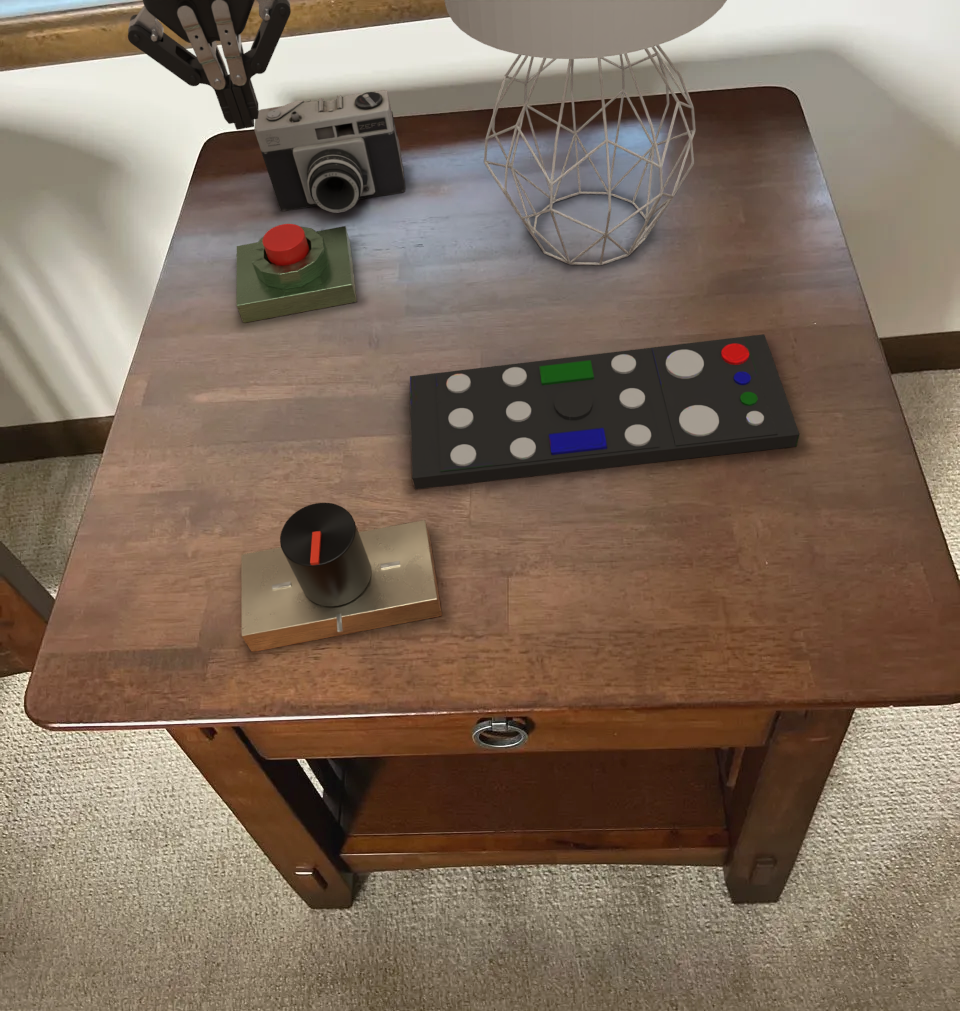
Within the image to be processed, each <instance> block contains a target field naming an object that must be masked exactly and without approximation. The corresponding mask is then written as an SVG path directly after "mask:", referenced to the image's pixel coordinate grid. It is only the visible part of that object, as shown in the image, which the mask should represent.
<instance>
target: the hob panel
mask: <svg viewBox="0 0 960 1011" xmlns="http://www.w3.org/2000/svg"><path fill="white" fill-rule="evenodd" d="M358 532H359V535H360V538H361V540H362V543H363V546H364V548H365V551H366V554H367V556H368V559H369V562H370V565H371V577H370V580H369V583H368V585H367V587H366V588H365V590H364V591H363V592H362V593H361V594H360V595H359V596H358V597H357V598H355V599H354V600H352V601H350V602H348V603H346V604H343V605H339V606H322V605H319V604H316V603H314V602H312V601H311V600H310V599H308V598H307V597H306V595H305V594H304V592H303V590H302V588H301V586H300V584H299V582H298V580H297V578H296V577H295V575H294V573H293V571H292V569H291V567H290V565H289V563H288V561H287V559H286V557H285V555H284V553H283V551H282V548H281V546H279V547H274V548H269V549H263V550H257V551H252V552H246V553H242V554H241V555H240V562H241V563H240V572H241V573H240V574H241V575H240V582H241V584H240V586H241V587H240V593H241V594H240V595H241V596H240V598H241V600H240V604H241V606H240V607H241V608H240V609H241V610H240V611H241V612H240V613H241V615H240V616H241V618H240V623H241V624H240V626H241V627H240V628H241V630H240V631H241V632H240V634H241V636H240V637H242V639H243V641H244V642H245V644H246V645H247V646H248V649H249V650H250V651H251V653H255V652H259V651H264V650H265V651H266V650H271V649H275V648H282V647H285V646H292V645H296V644H297V645H298V644H302V643H307V642H313V641H319V640H323V639H328V638H334V637H339V636H345V635H350V634H354V633H360V632H365V631H371V630H376V629H380V628H386V627H390V626H392V627H393V626H397V625H402V624H406V623H412V622H418V621H423V620H428V619H435V618H438V617H442V616H443V614H442V613H443V612H442V607H441V606H442V605H441V601H440V594H439V588H438V580H437V574H436V567H435V561H434V554H433V547H432V542H431V537H430V536H431V535H430V533H429V528H428V525H427V521H426V519H421V520H416V521H411V522H406V523H400V524H395V525H390V526H385V527H380V528H375V529H374V528H373V529H368V530H364V531H358Z"/></svg>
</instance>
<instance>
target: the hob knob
mask: <svg viewBox="0 0 960 1011" xmlns="http://www.w3.org/2000/svg"><path fill="white" fill-rule="evenodd" d="M359 532H360V531H359V530H358V527H357V525H356V521H355V519H354V517H353V515H352V514H351V513H350V512H349V511H348V510H347V509H346V508H344V507H343V506H341V505H339V504H336V503H332V502H315V503H312V504H311V503H310V504H309V505H306V506H304V507H302V508H300V509H298V510H297V511H295V512H294V513H293V514H291V516H289V518H288V519H287V520H286V522H285V523H284V525H283V526H282V528H281V532H280V537H279V543H280V547H281V548H282V551H283V553H284V555H285V557H286V559H287V561H288V563H289V565H290V567H291V569H292V571H293V573H294V575H295V577H296V578H297V580H298V582H299V584H300V586H301V588H302V590H303V592H304V594H305V595H306V597H307V598H308V599H310V600H311V601H312V602H314V603H316V604H319V605H322V606H339V605H343V604H346V603H348V602H350V601H352V600H354V599H355V598H357V597H358V596H359V595H360V594H361V593H362V592H363V591H364V590H365V588H366V587H367V585H368V583H369V580H370V577H371V565H370V562H369V559H368V556H367V554H366V551H365V548H364V546H363V543H362V540H361V538H360V535H359Z"/></svg>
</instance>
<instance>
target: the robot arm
mask: <svg viewBox="0 0 960 1011" xmlns="http://www.w3.org/2000/svg"><path fill="white" fill-rule="evenodd" d="M255 1H256V2H257V3H258V15H259V17H260V18H261V20H262V21H261V22H260V24H259V27H258V30H257V32H256V35H255V36H254V39H253V42H252V44H251V46H250V49H249V50H248V51H246V52H245V51H244V47H243V42H242V35H241V34H242V33H243V32H244V30H245V28H246V26H247V23H248V20H249V17H250V14H251V11H252V9H253V6H254V3H255ZM142 4H143V6H142V7H141V9H140V10H139V11H138V14H133V15H131V17H130V19H129V23H128V29H127V40H128V42H129V43H130V44H131V45H133V46H134V47H135V48H136V49H138V50H140V51H141V52H143V53H144V54H145V55H147V56H148V57H150V58H151V59H152V60H154V61H155V62H156V63H158V64H159V65H160V66H162V67H163V68H165V69H166V70H167V71H169V72H170V73H172V74H173V75H175V76H176V77H177V78H179V79H180V80H182V81H183V82H184V83H185V84H187V85H188V86H190V87H197V86H199V85H200V84H201V85H207V86H209V87H210V88H212V89H213V91H214V93H215V96H216V99H217V101H218V104H219V107H220V110H221V112H222V113H221V114H222V116H223V119H224V120H225V122H227V124H229V125H231V124H234V127H235V129H236V130H237V131H238V130H244V129H250V128H255V119H258V114H259V110H260V109H259V101H258V98H257V94H256V92H255V89H254V86H253V82H252V78H253V77H255V75H262V74H264V73H266V71H267V69H268V66H269V64H270V62H271V59H272V57H273V55H274V53H275V50H276V48H277V46H278V44H279V41H280V38H281V37H282V34H283V32H284V30H285V27H286V25H287V22H288V21H289V18H290V16H291V13H292V12H291V0H142ZM164 25H165V27H167V28H168V29H169V30H170V31H172V32H173V33H174V34H175V35H177V36H178V37H179V38H181V40H183V41H184V42H186V43H188V44H190V45H191V47H192V50H193V52H194V53H192V52H191V51H189V50H188V48H186V47H185V46H183V45H181V44H180V43H179V42H178V41H177V40H175V39H174V38H172V37H171V36H169V35H168V34H167V33H165V32H164ZM217 42H220V45H221V49H222V52H223V56H222V54H221V51H220V49H219V46H218V44H217ZM223 57H224V58H223ZM224 59H225V60H224ZM225 62H226V63H225ZM226 65H227V66H226ZM227 68H228V70H227Z"/></svg>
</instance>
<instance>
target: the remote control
mask: <svg viewBox="0 0 960 1011" xmlns="http://www.w3.org/2000/svg"><path fill="white" fill-rule="evenodd" d="M409 390H410V391H409V394H410V396H409V398H410V400H409V401H410V436H411V437H410V438H411V439H410V440H411V442H410V443H411V479H412V482H413V486H414V490H422V489H432V488H433V489H434V488H441V487H449V486H459V485H467V484H475V483H477V484H478V483H485V482H493V481H495V482H496V481H503V480H512V479H521V478H529V477H536V476H537V477H539V476H547V475H555V474H564V473H572V472H574V473H575V472H581V471H583V472H584V471H591V470H600V469H609V468H617V467H628V466H635V465H637V466H638V465H645V464H653V463H654V464H655V463H661V462H670V461H680V460H688V459H698V458H699V459H700V458H707V457H708V458H709V457H716V456H725V455H733V454H742V453H751V452H759V451H760V452H761V451H768V450H769V451H770V450H777V449H787V448H796V447H797V446H798V442H799V438H800V432H799V428H798V426H797V423H796V420H795V417H794V414H793V412H792V408H791V406H790V403H789V401H788V397H787V395H786V392H785V389H784V386H783V383H782V380H781V378H780V374H779V372H778V369H777V366H776V363H775V360H774V358H773V355H772V352H771V349H770V346H769V343H768V340H767V338H766V335H765V334H763V333H762V334H755V335H747V336H737V337H730V338H719V339H712V340H704V341H695V342H687V343H678V344H671V345H662V346H652V347H645V348H636V349H628V350H627V349H626V350H619V351H611V352H602V353H594V354H585V355H578V356H568V357H561V358H551V359H543V360H536V361H527V362H518V363H510V364H501V365H494V366H484V367H477V368H468V369H460V370H450V371H444V372H443V371H442V372H435V373H426V374H417V375H410V376H409Z"/></svg>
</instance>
